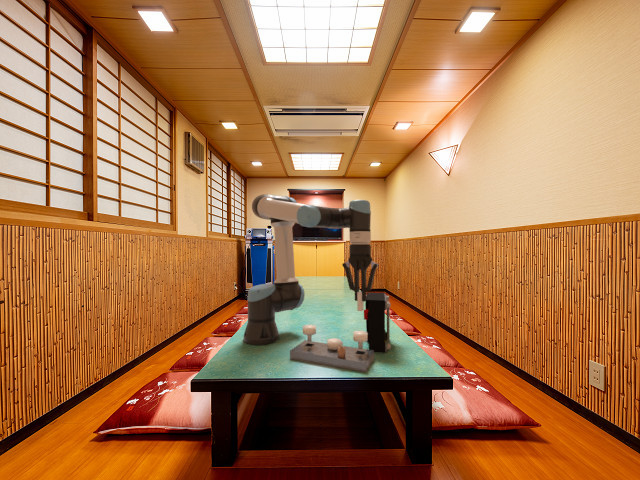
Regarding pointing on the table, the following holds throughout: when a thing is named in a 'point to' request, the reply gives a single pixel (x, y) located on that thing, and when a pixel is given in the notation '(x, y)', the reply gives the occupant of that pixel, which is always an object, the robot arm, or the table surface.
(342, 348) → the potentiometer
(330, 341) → the knob mid
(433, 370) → the table surface
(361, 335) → the knob outer
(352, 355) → the plate
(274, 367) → the table surface
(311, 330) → the knob
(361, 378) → the table surface
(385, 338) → the electrical component
